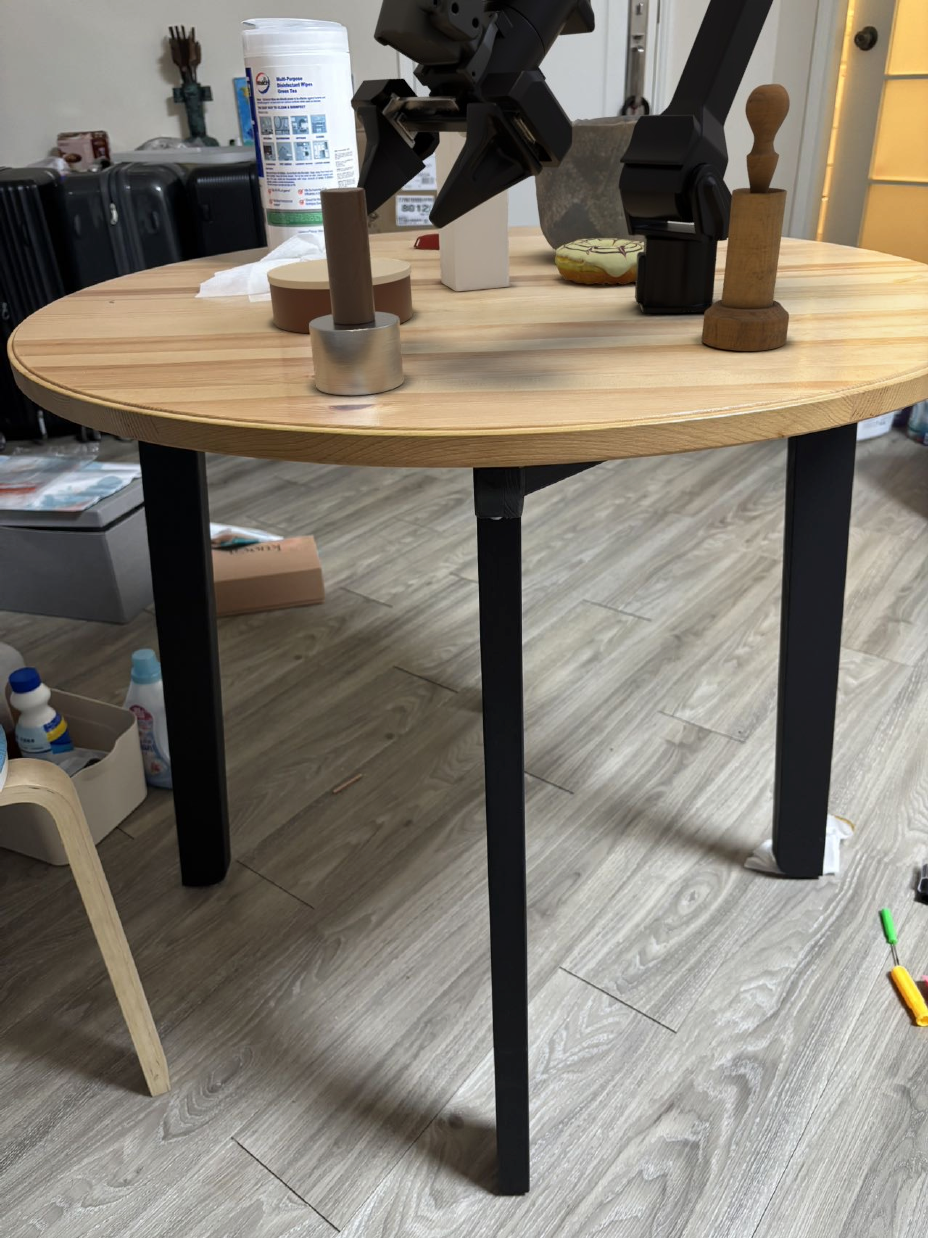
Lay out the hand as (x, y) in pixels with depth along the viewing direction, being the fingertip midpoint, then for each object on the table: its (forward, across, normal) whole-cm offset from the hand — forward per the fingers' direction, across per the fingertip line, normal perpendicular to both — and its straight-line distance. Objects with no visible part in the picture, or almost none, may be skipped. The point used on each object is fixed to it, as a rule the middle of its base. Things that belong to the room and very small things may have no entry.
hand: (393, 219), depth 67 cm
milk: (-12, -24, +27) cm, 38 cm away
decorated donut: (-20, -16, +35) cm, 43 cm away
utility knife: (-23, -47, +38) cm, 64 cm away
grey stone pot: (-27, -26, +42) cm, 57 cm away
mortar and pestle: (-10, +13, +25) cm, 30 cm away
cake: (+2, -20, +13) cm, 25 cm away
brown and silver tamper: (+10, 0, +5) cm, 11 cm away
